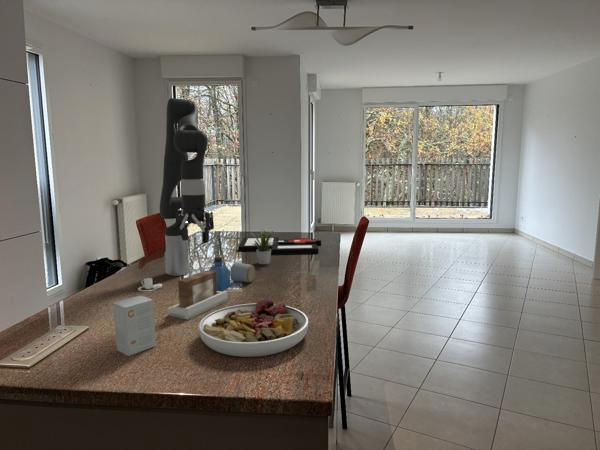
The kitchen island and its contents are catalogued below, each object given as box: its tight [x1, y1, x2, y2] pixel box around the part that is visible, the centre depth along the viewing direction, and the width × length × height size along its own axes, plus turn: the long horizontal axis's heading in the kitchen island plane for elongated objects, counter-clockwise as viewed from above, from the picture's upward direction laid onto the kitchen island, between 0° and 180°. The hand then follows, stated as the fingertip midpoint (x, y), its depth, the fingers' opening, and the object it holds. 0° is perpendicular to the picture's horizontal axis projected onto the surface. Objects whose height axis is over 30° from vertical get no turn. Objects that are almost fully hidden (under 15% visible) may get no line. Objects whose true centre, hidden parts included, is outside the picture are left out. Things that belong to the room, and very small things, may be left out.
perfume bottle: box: [208, 256, 231, 292], centre depth 169 cm, size 6×6×12 cm
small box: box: [112, 295, 157, 357], centre depth 116 cm, size 8×6×13 cm
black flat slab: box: [237, 236, 322, 256], centre depth 245 cm, size 36×3×45 cm
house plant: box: [250, 229, 279, 265], centre depth 208 cm, size 14×14×16 cm
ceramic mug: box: [229, 261, 256, 283], centre depth 179 cm, size 11×8×8 cm
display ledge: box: [167, 290, 229, 320], centre depth 147 cm, size 8×20×4 cm, turn 152°
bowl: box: [198, 296, 309, 358], centre depth 123 cm, size 30×30×8 cm
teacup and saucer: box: [137, 277, 163, 292], centre depth 171 cm, size 9×8×4 cm
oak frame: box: [177, 269, 217, 308], centre depth 147 cm, size 14×4×10 cm, turn 152°
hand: (195, 241), depth 147 cm, fingers open, 8 cm apart
